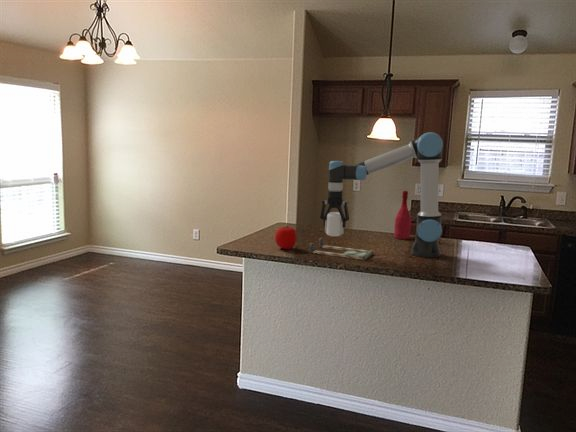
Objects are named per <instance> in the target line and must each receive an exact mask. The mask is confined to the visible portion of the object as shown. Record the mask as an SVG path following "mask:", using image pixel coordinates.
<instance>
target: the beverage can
mask: <svg viewBox="0 0 576 432" xmlns="http://www.w3.org/2000/svg"><path fill="white" fill-rule="evenodd" d="M341 222H342V218H341V215H340V213H339V211H330V213H328V215H327V232H326V235H328V236H329V237H340V236H342V235H343V234H341Z"/></svg>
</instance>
